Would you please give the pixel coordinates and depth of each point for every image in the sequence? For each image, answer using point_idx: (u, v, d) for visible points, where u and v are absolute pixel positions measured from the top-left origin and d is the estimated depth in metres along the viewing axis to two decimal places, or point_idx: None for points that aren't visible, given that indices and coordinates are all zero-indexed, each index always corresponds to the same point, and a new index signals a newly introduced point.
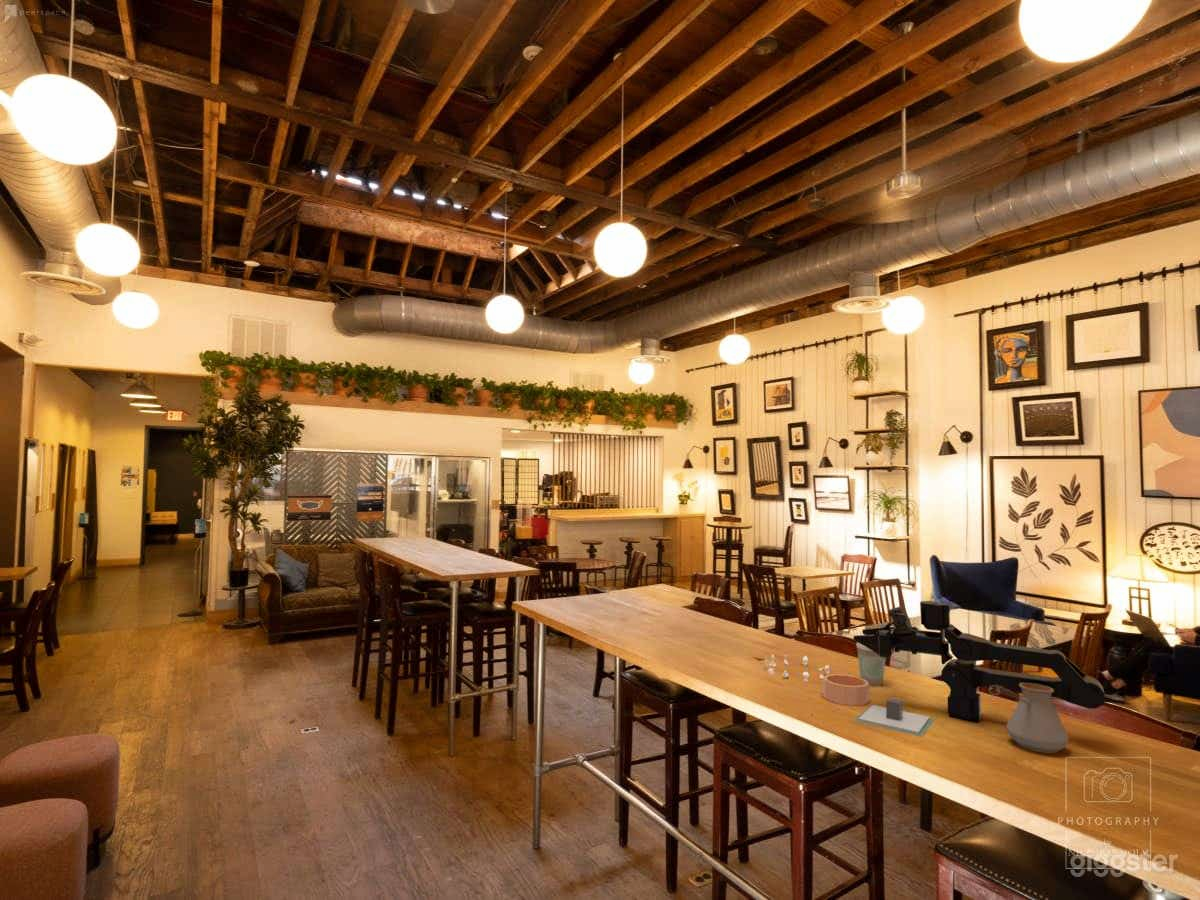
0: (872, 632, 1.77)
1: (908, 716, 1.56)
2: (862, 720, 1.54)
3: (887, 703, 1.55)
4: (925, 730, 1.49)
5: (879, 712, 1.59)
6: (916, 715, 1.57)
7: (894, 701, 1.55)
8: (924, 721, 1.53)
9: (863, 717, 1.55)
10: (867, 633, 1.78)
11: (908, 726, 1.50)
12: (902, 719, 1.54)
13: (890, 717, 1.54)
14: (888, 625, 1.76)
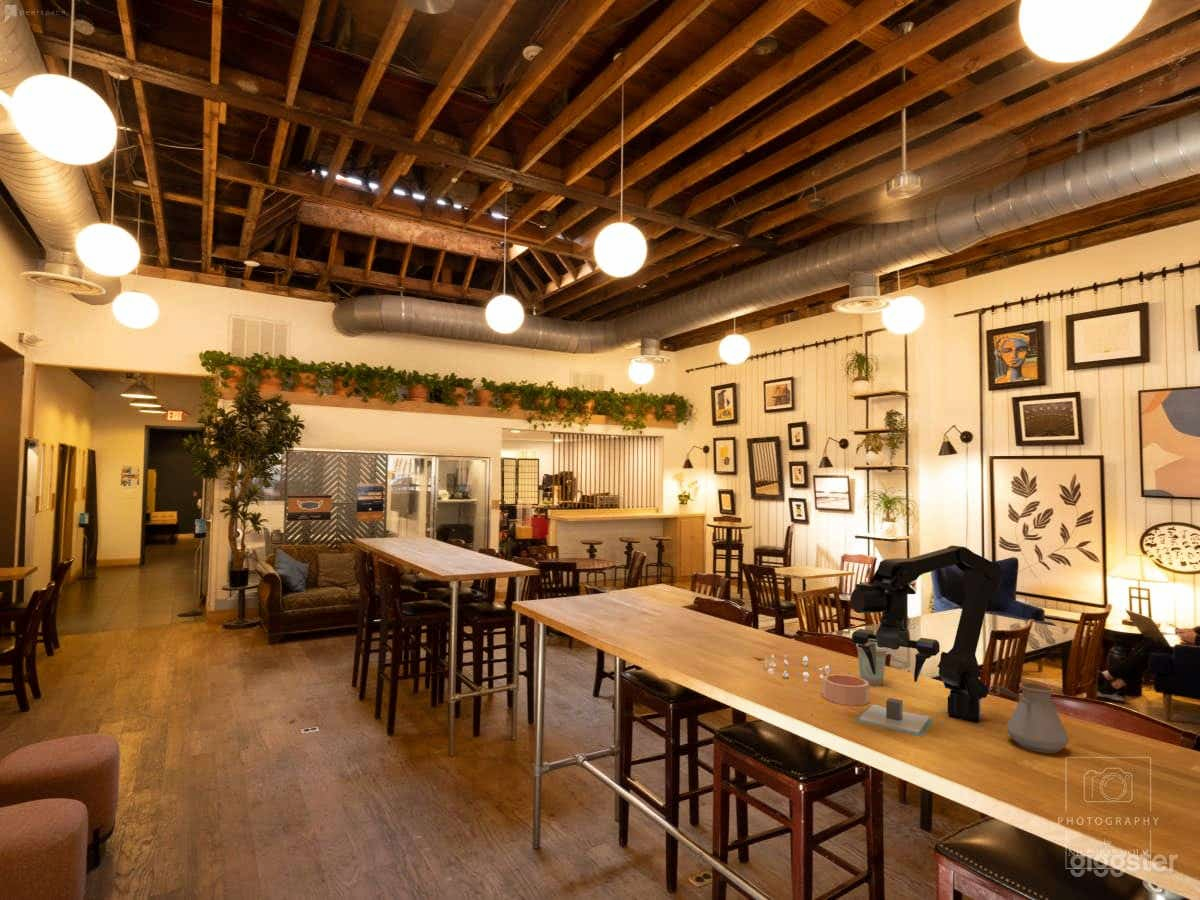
0: (874, 663, 1.59)
1: (908, 716, 1.56)
2: (862, 720, 1.54)
3: (887, 703, 1.55)
4: (925, 730, 1.49)
5: (879, 712, 1.59)
6: (916, 715, 1.57)
7: (894, 701, 1.55)
8: (924, 721, 1.53)
9: (863, 717, 1.55)
10: (875, 668, 1.59)
11: (908, 726, 1.50)
12: (902, 719, 1.54)
13: (890, 717, 1.54)
14: (870, 647, 1.58)
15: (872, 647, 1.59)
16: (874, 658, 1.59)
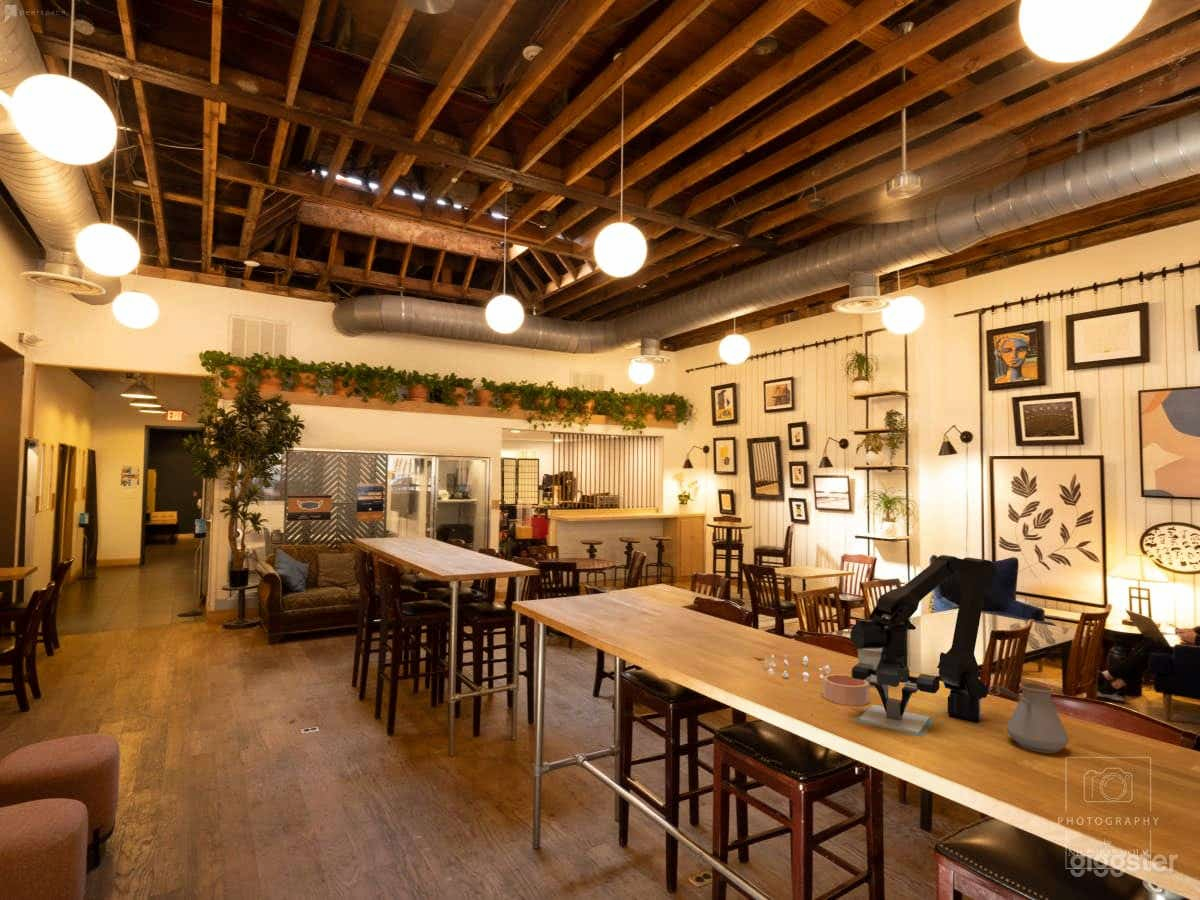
0: (886, 700, 1.56)
1: (908, 716, 1.56)
2: (862, 720, 1.54)
3: (887, 703, 1.55)
4: (925, 730, 1.49)
5: (879, 712, 1.59)
6: (916, 715, 1.57)
7: (894, 701, 1.55)
8: (924, 721, 1.53)
9: (863, 717, 1.55)
10: None
11: (908, 726, 1.50)
12: (902, 719, 1.54)
13: (890, 717, 1.54)
14: (882, 685, 1.55)
15: (885, 685, 1.57)
16: (886, 696, 1.57)
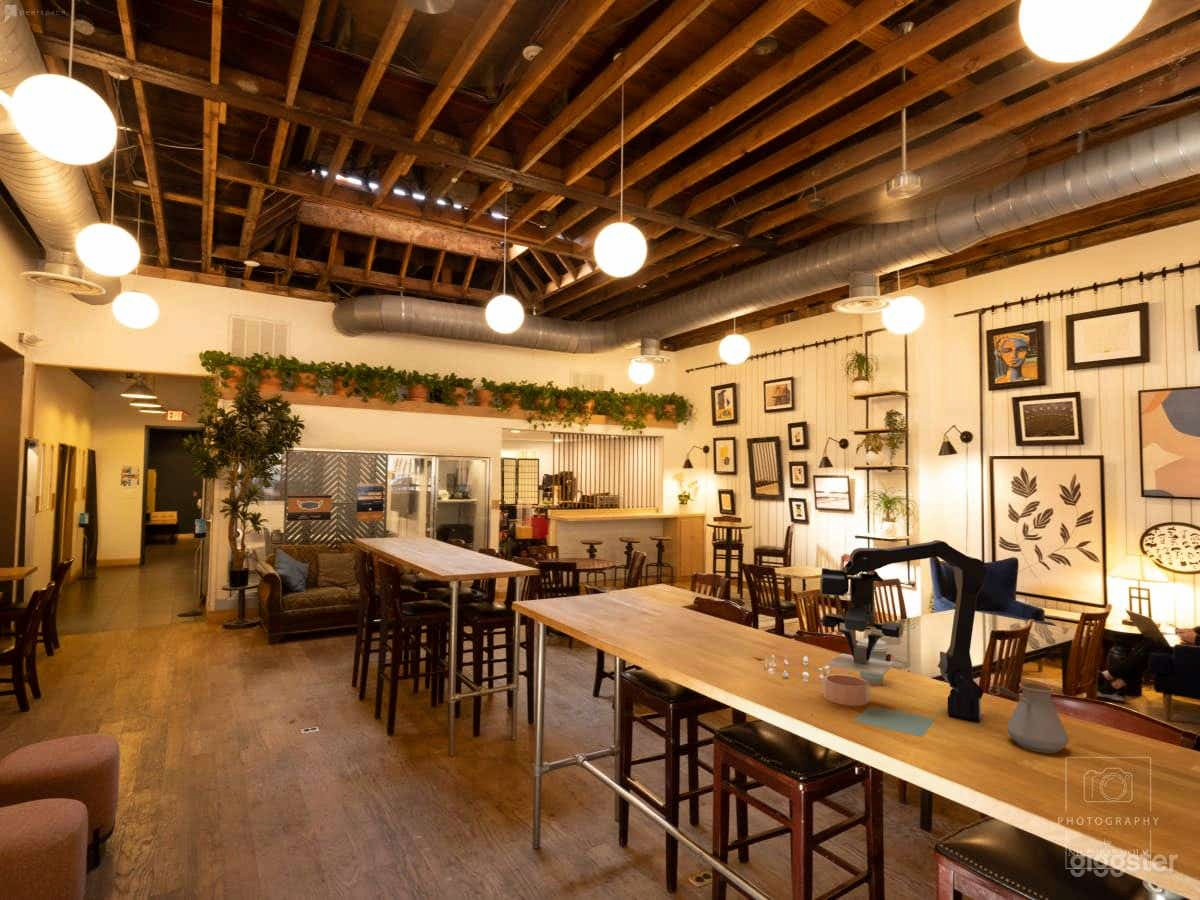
0: (853, 647, 1.67)
1: (874, 662, 1.67)
2: (831, 664, 1.64)
3: (854, 649, 1.65)
4: (925, 730, 1.49)
5: (847, 658, 1.69)
6: (881, 661, 1.68)
7: (861, 647, 1.65)
8: (888, 665, 1.64)
9: (832, 662, 1.65)
10: None
11: (873, 669, 1.60)
12: (868, 664, 1.65)
13: (857, 662, 1.65)
14: (850, 632, 1.66)
15: (852, 632, 1.67)
16: (854, 642, 1.67)
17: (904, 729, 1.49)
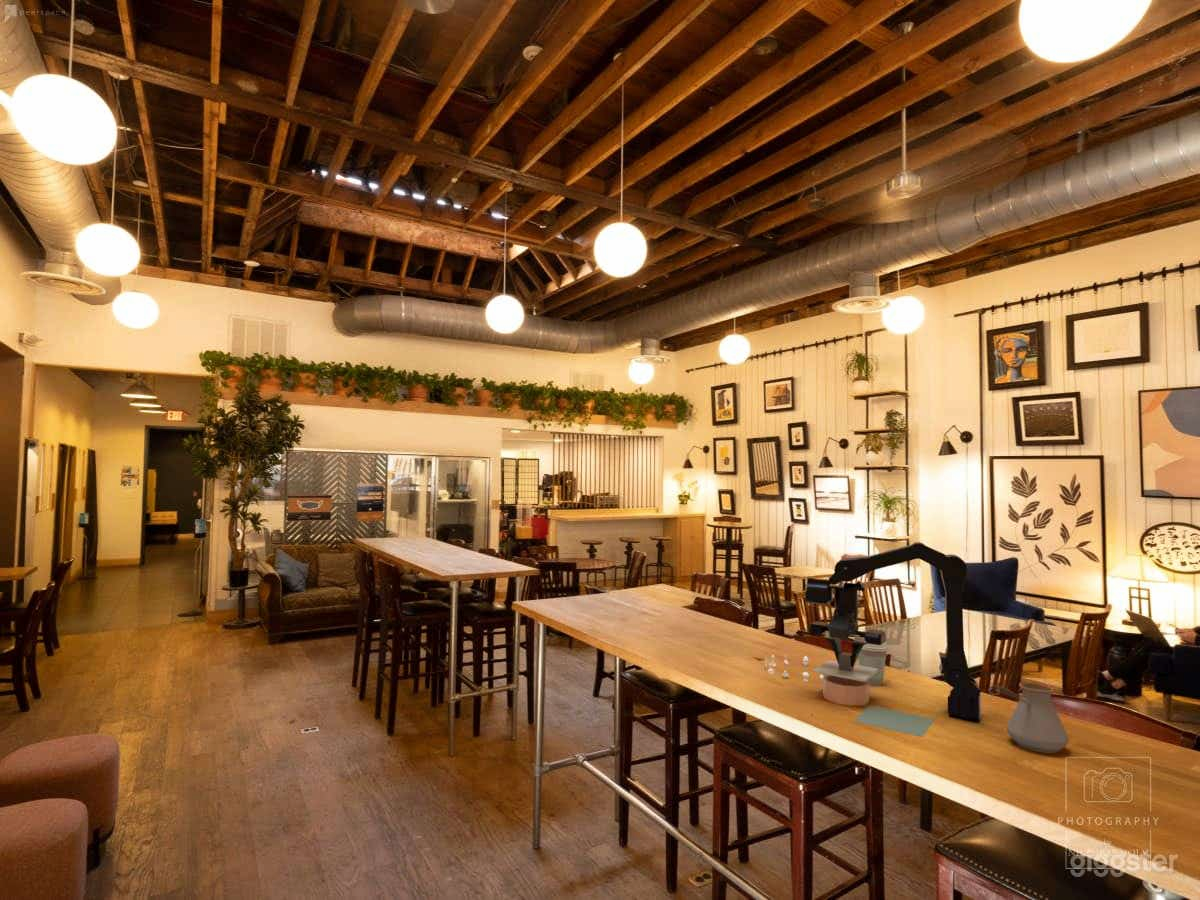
0: None
1: (859, 668, 1.72)
2: (816, 671, 1.69)
3: (839, 656, 1.71)
4: (925, 730, 1.49)
5: (833, 665, 1.75)
6: (866, 667, 1.73)
7: (846, 654, 1.71)
8: (872, 672, 1.69)
9: (817, 668, 1.71)
10: None
11: (857, 675, 1.65)
12: (853, 670, 1.70)
13: (842, 668, 1.70)
14: (835, 640, 1.71)
15: (838, 640, 1.73)
16: (839, 650, 1.73)
17: (904, 729, 1.49)
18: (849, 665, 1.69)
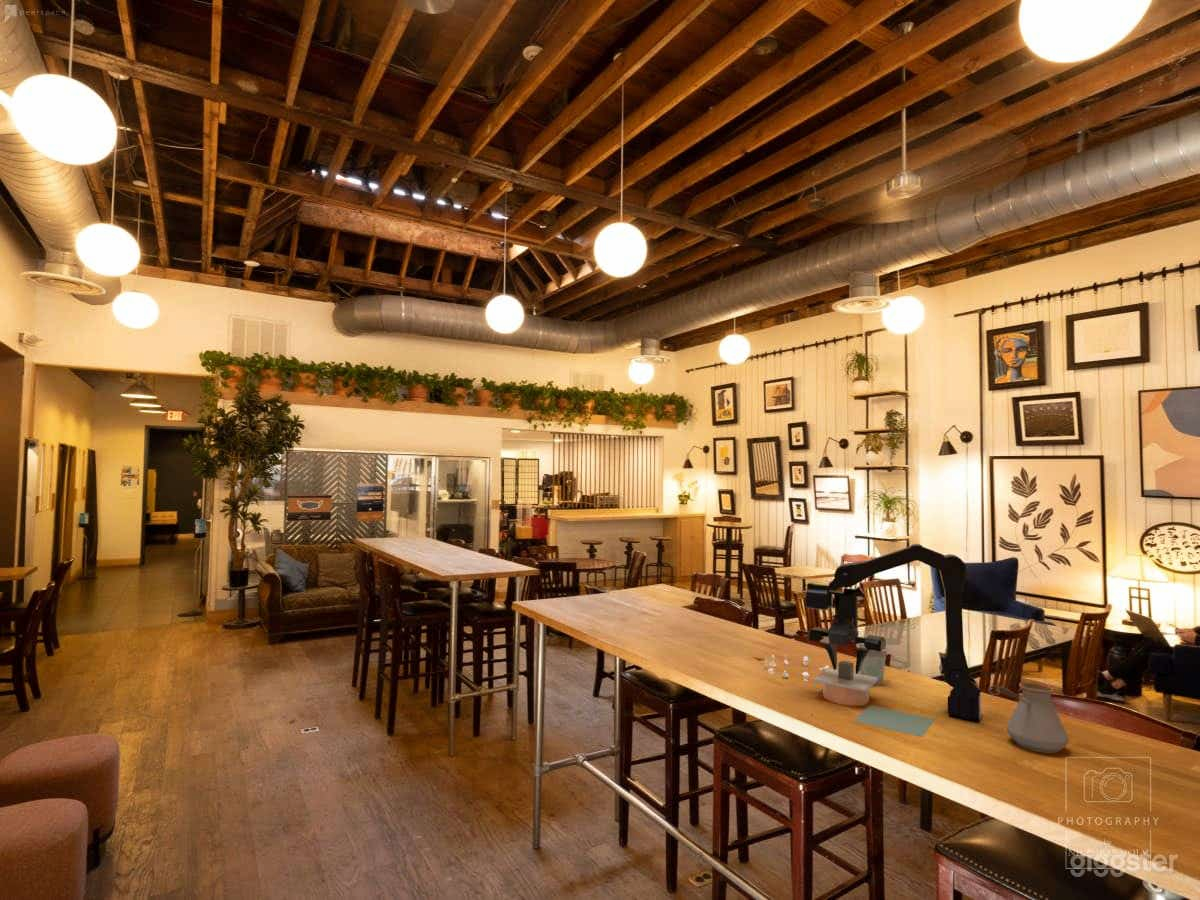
0: (834, 659, 1.73)
1: (859, 677, 1.72)
2: (816, 680, 1.69)
3: (839, 665, 1.71)
4: (925, 730, 1.49)
5: (833, 674, 1.74)
6: (866, 676, 1.73)
7: (845, 663, 1.71)
8: (872, 681, 1.69)
9: (817, 677, 1.71)
10: (835, 664, 1.73)
11: (856, 684, 1.65)
12: (852, 679, 1.70)
13: (842, 677, 1.70)
14: (830, 645, 1.72)
15: (833, 645, 1.74)
16: (835, 655, 1.73)
17: (904, 729, 1.49)
18: (849, 674, 1.69)
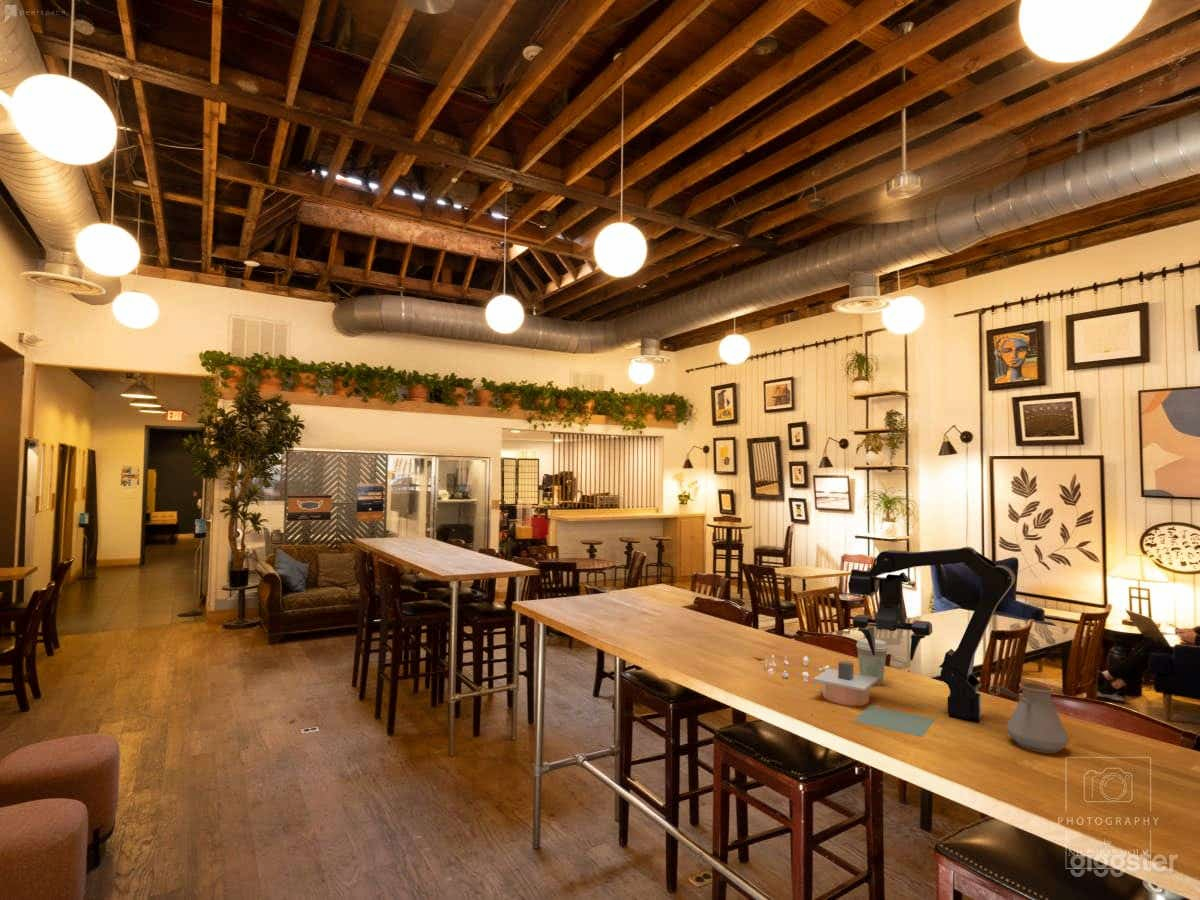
0: (873, 645, 1.74)
1: (859, 677, 1.72)
2: (816, 680, 1.69)
3: (839, 665, 1.71)
4: (925, 730, 1.49)
5: (833, 674, 1.74)
6: (866, 676, 1.73)
7: (845, 663, 1.71)
8: (872, 681, 1.69)
9: (817, 677, 1.71)
10: (874, 650, 1.74)
11: (856, 684, 1.65)
12: (852, 679, 1.70)
13: (842, 677, 1.70)
14: (869, 631, 1.72)
15: (871, 631, 1.74)
16: (873, 640, 1.74)
17: (904, 729, 1.49)
18: (849, 674, 1.69)
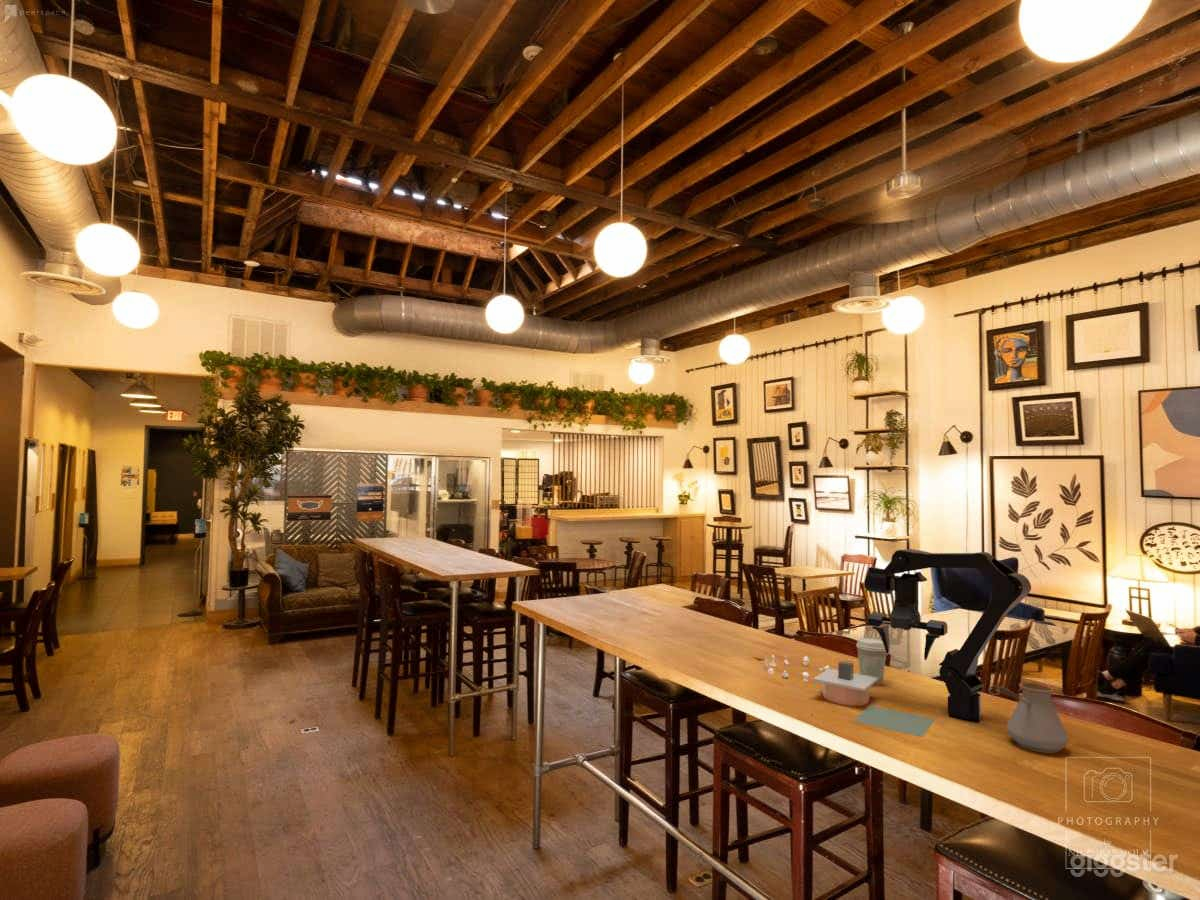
0: (887, 643, 1.74)
1: (859, 677, 1.72)
2: (816, 680, 1.69)
3: (839, 665, 1.71)
4: (925, 730, 1.49)
5: (833, 674, 1.74)
6: (866, 676, 1.73)
7: (845, 663, 1.71)
8: (872, 681, 1.69)
9: (817, 677, 1.71)
10: (888, 648, 1.74)
11: (856, 684, 1.65)
12: (852, 679, 1.70)
13: (842, 677, 1.70)
14: (883, 629, 1.73)
15: (886, 629, 1.74)
16: (887, 639, 1.74)
17: (904, 729, 1.49)
18: (849, 674, 1.69)
